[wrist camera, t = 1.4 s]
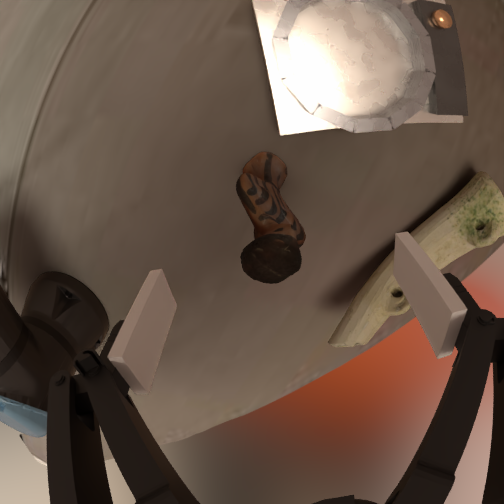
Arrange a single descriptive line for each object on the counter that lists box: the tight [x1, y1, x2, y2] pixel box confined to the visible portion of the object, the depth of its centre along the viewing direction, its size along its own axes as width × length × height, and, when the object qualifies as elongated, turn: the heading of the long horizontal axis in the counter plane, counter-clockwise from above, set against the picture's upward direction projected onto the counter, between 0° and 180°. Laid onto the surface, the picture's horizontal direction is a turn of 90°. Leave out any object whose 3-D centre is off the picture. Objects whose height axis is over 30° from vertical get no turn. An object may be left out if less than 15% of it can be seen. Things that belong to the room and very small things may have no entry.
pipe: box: [328, 171, 504, 347], centre depth 32 cm, size 28×8×10 cm, turn 138°
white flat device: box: [251, 0, 468, 135], centre depth 22 cm, size 20×14×6 cm
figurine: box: [236, 152, 306, 284], centre depth 24 cm, size 7×5×18 cm
